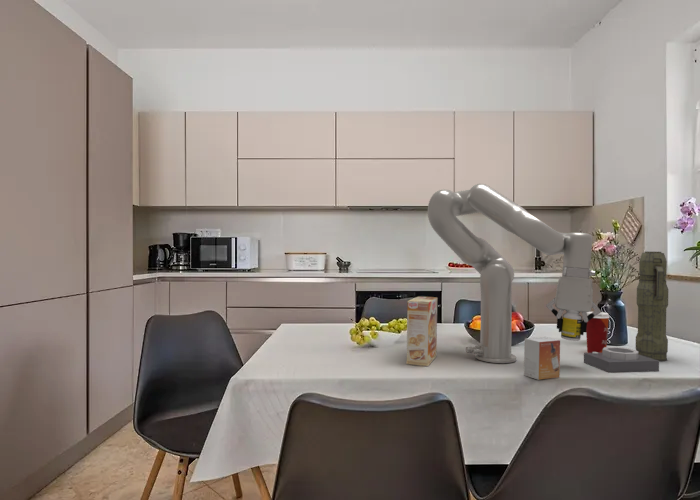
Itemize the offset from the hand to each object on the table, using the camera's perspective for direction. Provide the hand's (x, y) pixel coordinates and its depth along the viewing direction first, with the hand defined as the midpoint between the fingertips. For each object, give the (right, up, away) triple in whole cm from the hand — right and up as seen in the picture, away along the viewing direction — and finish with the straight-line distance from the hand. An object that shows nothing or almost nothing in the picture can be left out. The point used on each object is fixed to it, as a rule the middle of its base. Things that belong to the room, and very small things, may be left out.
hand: (571, 332), depth 147 cm
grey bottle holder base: (+15, -10, +1) cm, 18 cm away
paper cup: (+17, -11, +18) cm, 27 cm away
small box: (-13, -11, -12) cm, 21 cm away
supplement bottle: (0, -2, 0) cm, 2 cm away
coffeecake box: (-44, -10, +6) cm, 46 cm away
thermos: (+32, -11, +12) cm, 36 cm away
